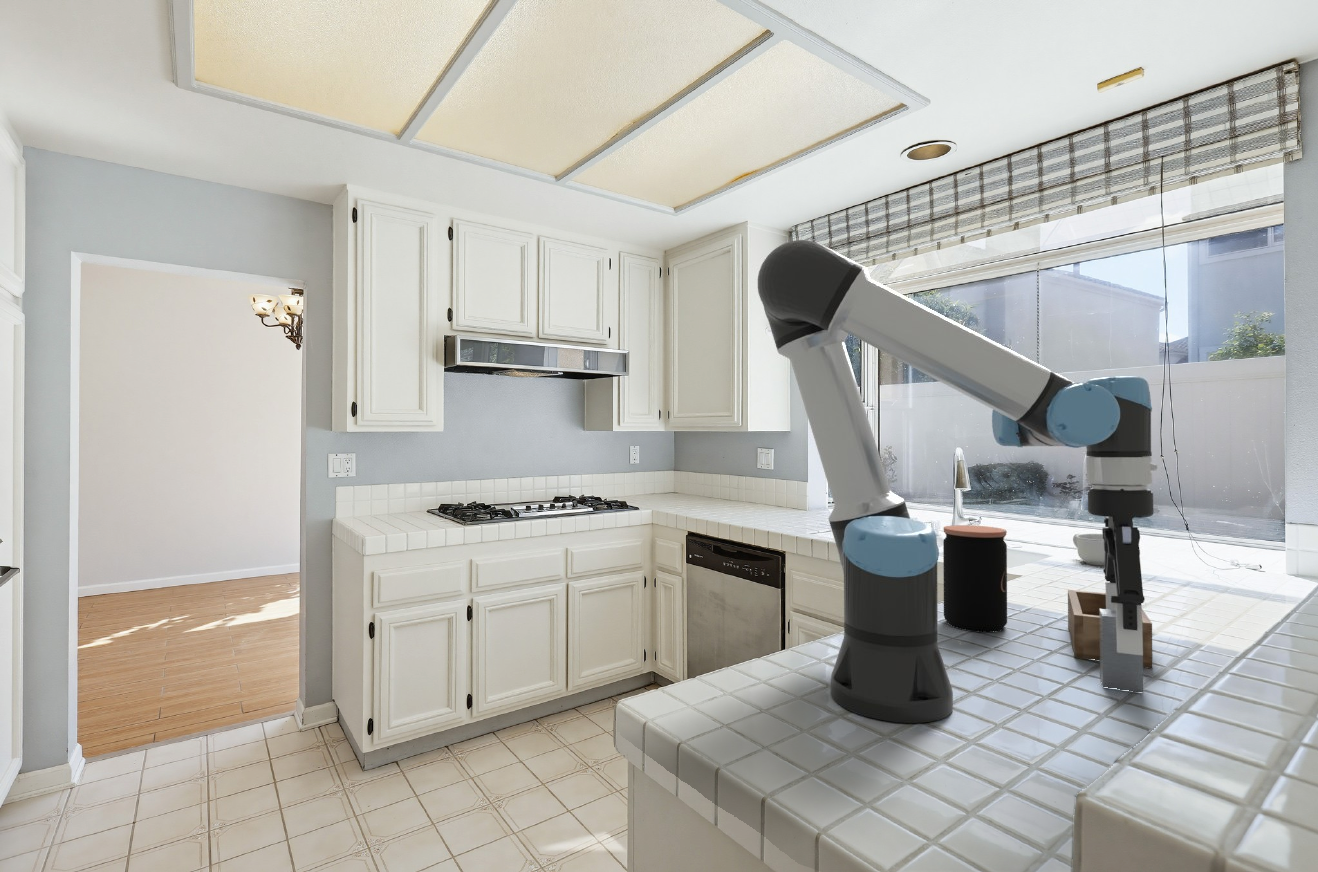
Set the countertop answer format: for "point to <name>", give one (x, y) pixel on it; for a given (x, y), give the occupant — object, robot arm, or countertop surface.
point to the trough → (1096, 626)
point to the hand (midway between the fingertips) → (1123, 639)
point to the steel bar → (1117, 658)
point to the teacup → (1090, 548)
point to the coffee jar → (975, 577)
